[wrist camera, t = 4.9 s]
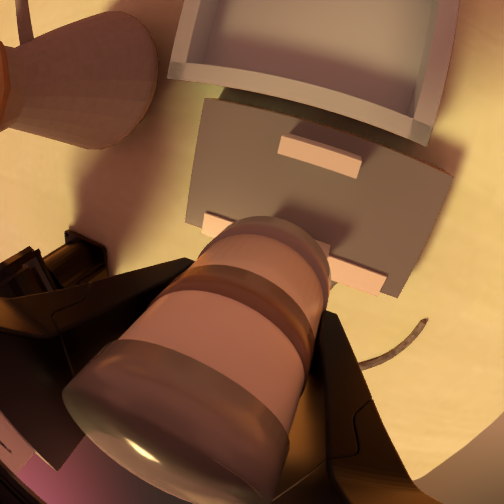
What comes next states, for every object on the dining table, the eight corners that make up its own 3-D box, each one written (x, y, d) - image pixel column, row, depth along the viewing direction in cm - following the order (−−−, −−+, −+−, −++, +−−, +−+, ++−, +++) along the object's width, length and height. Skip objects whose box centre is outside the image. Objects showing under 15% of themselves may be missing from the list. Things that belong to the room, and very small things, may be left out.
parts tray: (189, 80, 19) (166, 78, 17) (224, -55, 13) (207, -71, 11) (416, 142, 16) (426, 147, 14) (449, -10, 10) (461, -26, 8)
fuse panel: (197, 216, 24) (170, 236, 21) (217, 98, 19) (189, 97, 16) (393, 286, 21) (397, 319, 18) (444, 170, 16) (463, 184, 13)
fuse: (202, 301, 12) (88, 446, 6) (219, 198, 9) (35, 341, 4) (307, 341, 11) (243, 523, 5) (350, 243, 9) (309, 482, 3)
